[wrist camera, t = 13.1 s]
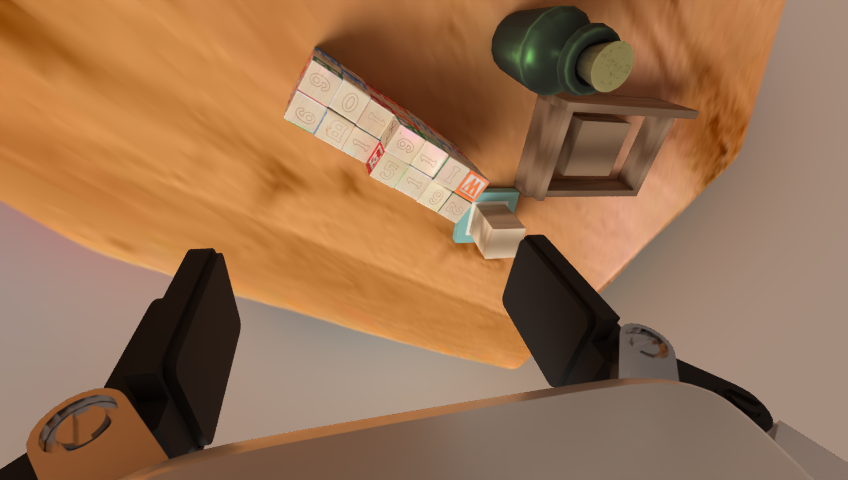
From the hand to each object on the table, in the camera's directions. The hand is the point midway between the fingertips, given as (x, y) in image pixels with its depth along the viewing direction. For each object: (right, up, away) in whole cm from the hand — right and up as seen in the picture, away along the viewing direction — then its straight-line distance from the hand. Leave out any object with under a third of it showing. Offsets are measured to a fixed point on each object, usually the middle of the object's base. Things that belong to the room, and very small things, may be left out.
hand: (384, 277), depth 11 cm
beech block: (+11, +5, +44) cm, 45 cm away
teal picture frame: (+11, +5, +45) cm, 46 cm away
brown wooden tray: (+26, +16, +42) cm, 52 cm away
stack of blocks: (-4, +16, +33) cm, 37 cm away
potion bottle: (+12, +25, +32) cm, 42 cm away
